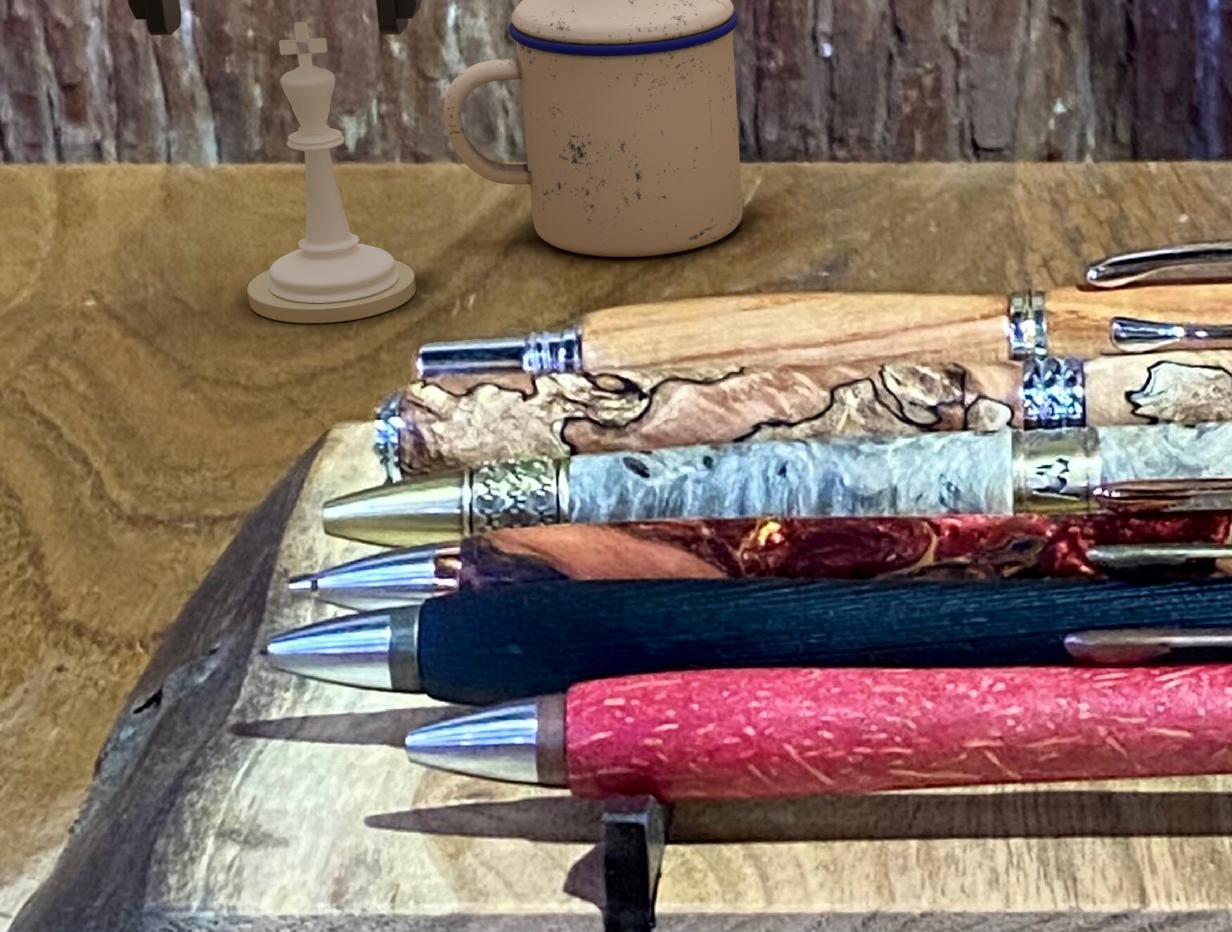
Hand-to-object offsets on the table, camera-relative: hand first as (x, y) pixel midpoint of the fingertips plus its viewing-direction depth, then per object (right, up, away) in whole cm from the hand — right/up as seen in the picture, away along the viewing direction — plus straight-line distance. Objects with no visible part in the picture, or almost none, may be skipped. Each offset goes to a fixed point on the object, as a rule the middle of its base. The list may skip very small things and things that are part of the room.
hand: (280, 30), depth 100 cm
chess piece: (+1, -9, +4) cm, 10 cm away
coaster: (+1, -9, +5) cm, 10 cm away
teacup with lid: (+11, -6, +11) cm, 16 cm away
